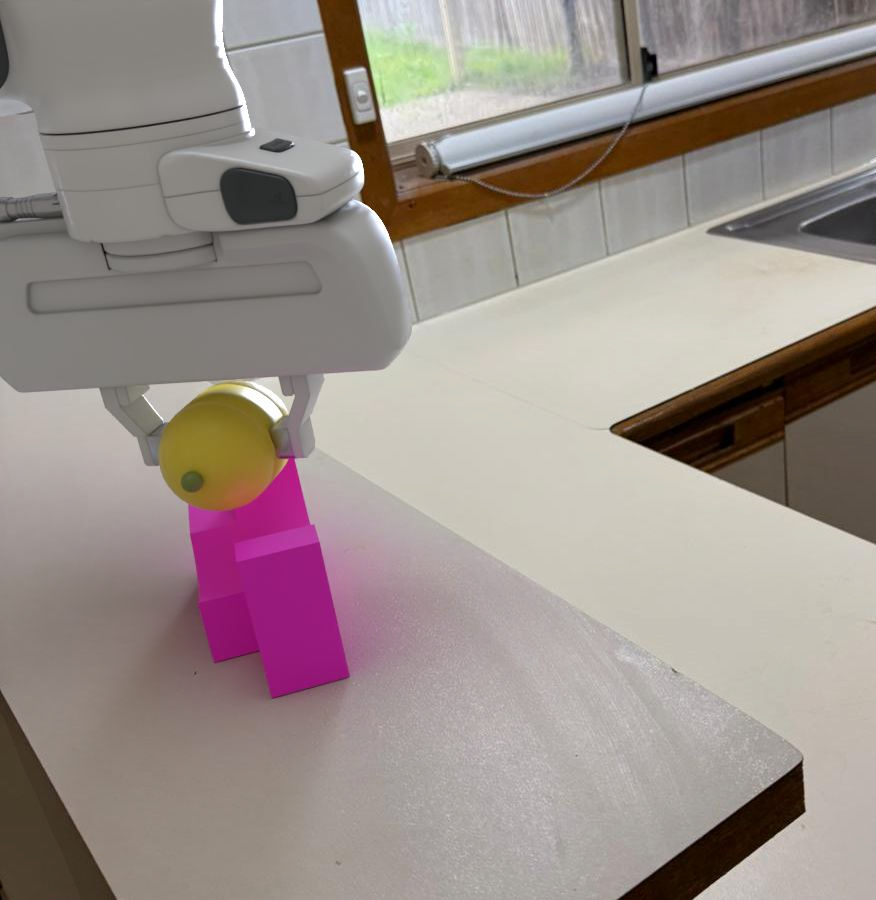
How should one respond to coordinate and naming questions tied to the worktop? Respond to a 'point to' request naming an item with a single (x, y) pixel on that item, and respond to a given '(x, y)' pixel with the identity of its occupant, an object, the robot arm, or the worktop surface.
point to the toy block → (268, 587)
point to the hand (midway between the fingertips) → (232, 457)
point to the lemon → (222, 446)
